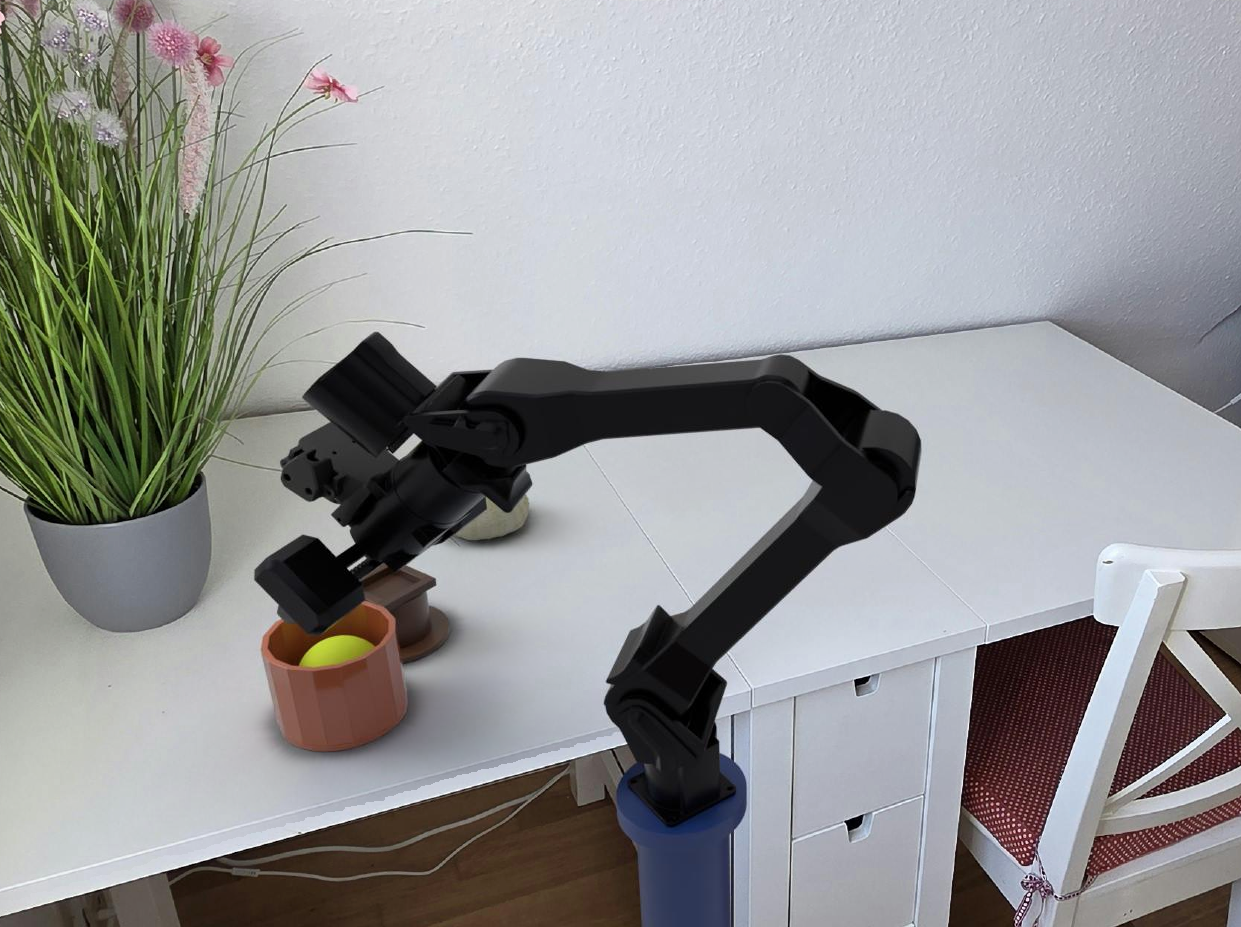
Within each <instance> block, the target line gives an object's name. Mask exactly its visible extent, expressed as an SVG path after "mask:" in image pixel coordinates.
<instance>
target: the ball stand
mask: <svg viewBox="0 0 1241 927" xmlns="http://www.w3.org/2000/svg"><path fill="white" fill-rule="evenodd" d="M360 582H361V583H362V584H363V589H364V594H365V601H368V602H371V603H373V604H376V605H379V606H382V607H384V608H386V609H387V610H388V611H389V612H390V613H391V615H392V616H393V617H394V618H395V620H396V626H397V633H398V639H399V645H400V651H401V657H402V663H403V664H406V663H407V664H408V663H411V662H414V661H416V660H420V659H422V658H425V657H426V656H428V655H430V654H432V653H433V652H435V651H436V650H438V649H439V648H441V646H442V645H444V644H445V642H446V641H447V639H448V637H449V635H450V632H451V631H450V630H451V625H450V621H449V618H448V616H447V614H445V613H444V612H443V611H442V610H441V609H439V608H437V607H435V606H432V605H429V598H428V592H427V591H429V590H431V589H433V588H435V587H437V578H436V577H434V576H432V575H429V574H427V573H425V572H423V571H420V570H418V569H415V568H414V567H411V566H409V565H408V564H407V565H406V566H404V567H403V568H402V569H400V570H399V571H398V572H396V573H395V574H394V573H393V572H392V571H391V570H390V569H389V568H388V567H387V565H386V564H385V563H384V564H383V565H381V566H380V567H379V568H377V569H376V570H374V571H373V572H372V573H370V574H369V575H368V576H366V577H365V578H363V579H362V580H361V581H360Z"/></svg>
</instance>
